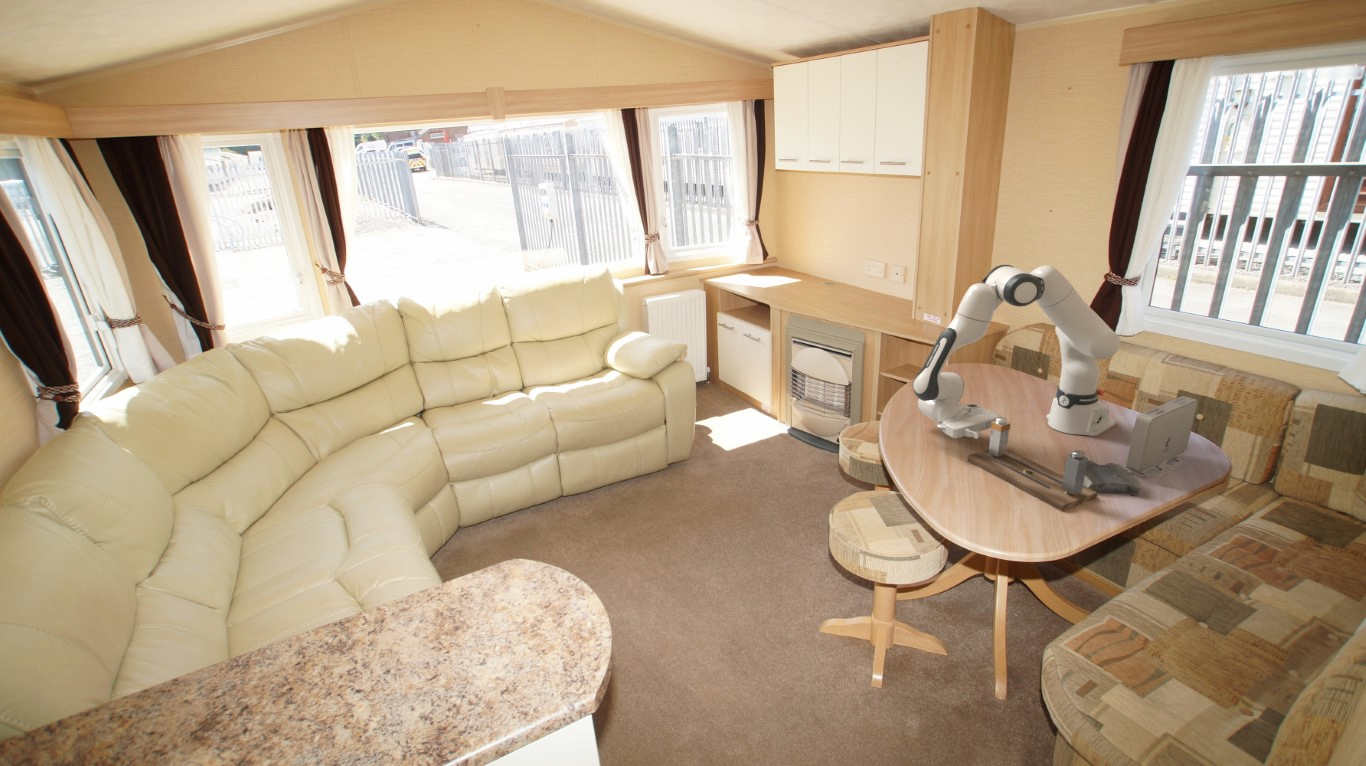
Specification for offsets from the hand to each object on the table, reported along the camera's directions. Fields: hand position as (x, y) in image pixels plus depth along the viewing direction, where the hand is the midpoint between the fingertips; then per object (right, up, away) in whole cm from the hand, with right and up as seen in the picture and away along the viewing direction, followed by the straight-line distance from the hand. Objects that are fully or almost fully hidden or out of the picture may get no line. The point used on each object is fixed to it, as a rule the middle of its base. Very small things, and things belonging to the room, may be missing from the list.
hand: (990, 432), depth 205 cm
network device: (+47, -10, -8) cm, 49 cm away
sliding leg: (+2, -8, -1) cm, 8 cm away
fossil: (+27, -14, -15) cm, 34 cm away
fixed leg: (+12, -16, -23) cm, 30 cm away
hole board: (+7, -13, -10) cm, 18 cm away
